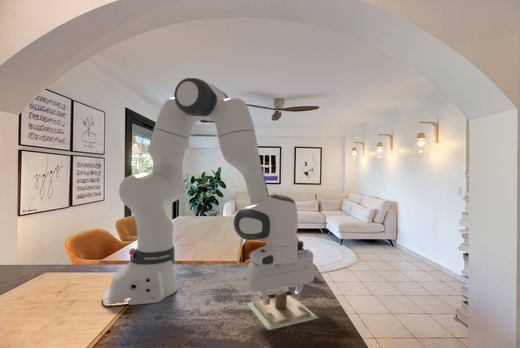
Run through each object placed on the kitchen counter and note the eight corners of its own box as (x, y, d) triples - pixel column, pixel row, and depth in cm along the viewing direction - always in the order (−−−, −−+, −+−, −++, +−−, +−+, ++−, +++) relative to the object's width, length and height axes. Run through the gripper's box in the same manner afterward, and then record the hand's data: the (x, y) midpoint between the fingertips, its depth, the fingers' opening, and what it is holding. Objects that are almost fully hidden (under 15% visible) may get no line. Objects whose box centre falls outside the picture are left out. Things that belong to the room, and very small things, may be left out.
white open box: (260, 298, 89) (260, 283, 89) (248, 286, 98) (249, 272, 98) (288, 293, 93) (288, 278, 93) (274, 282, 102) (274, 268, 102)
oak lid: (270, 325, 73) (271, 307, 72) (253, 304, 84) (253, 288, 83) (310, 316, 77) (310, 298, 77) (289, 297, 88) (289, 282, 88)
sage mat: (268, 331, 71) (268, 330, 71) (246, 304, 84) (246, 303, 84) (318, 319, 76) (318, 317, 76) (290, 296, 90) (290, 294, 90)
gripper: (307, 246, 87) (306, 290, 87) (244, 253, 79) (244, 302, 79) (319, 251, 81) (318, 299, 82) (253, 260, 73) (252, 313, 73)
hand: (281, 301), depth 80 cm, fingers open, 8 cm apart
